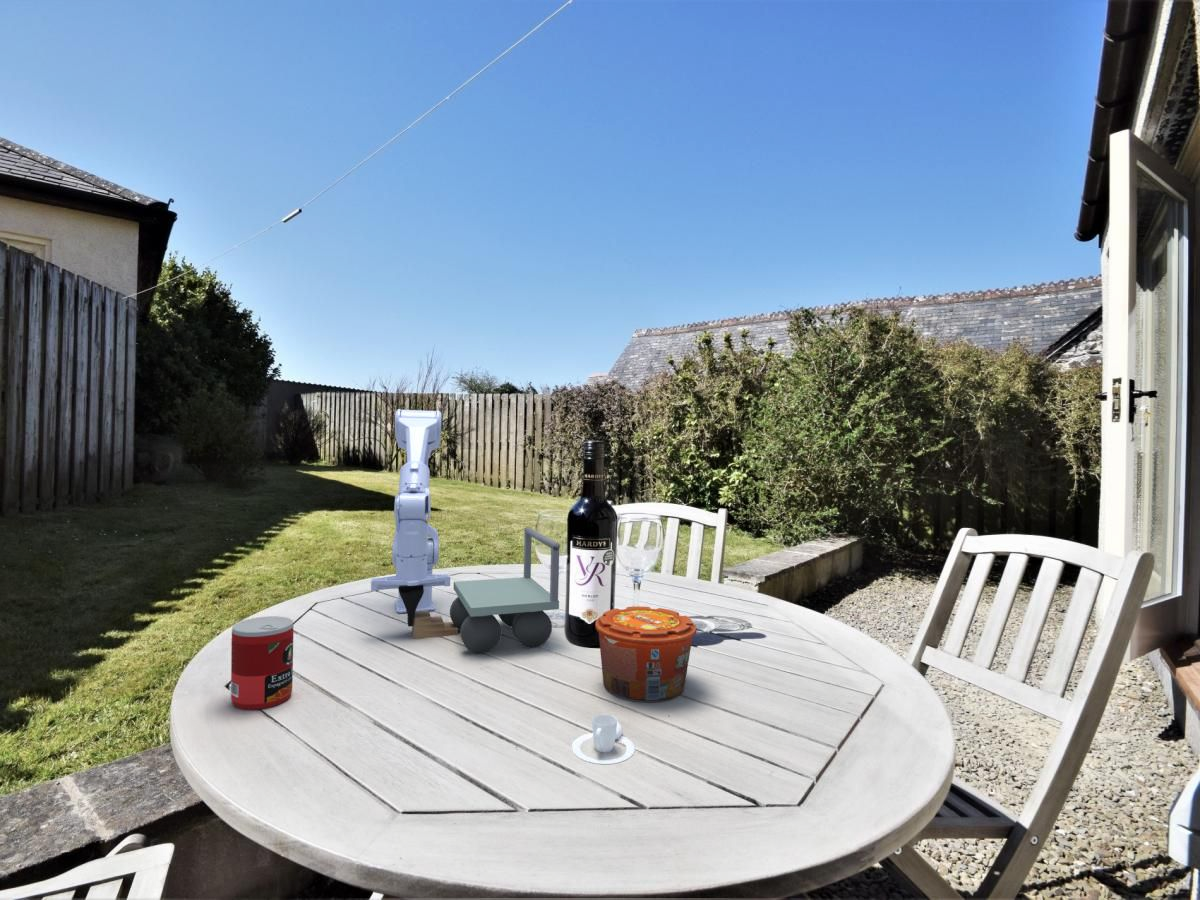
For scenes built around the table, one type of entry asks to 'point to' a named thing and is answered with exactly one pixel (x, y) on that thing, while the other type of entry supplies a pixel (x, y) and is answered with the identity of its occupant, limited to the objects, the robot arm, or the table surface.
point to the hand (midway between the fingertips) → (410, 625)
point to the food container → (645, 652)
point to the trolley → (507, 604)
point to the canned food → (261, 662)
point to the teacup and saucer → (604, 739)
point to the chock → (431, 626)
